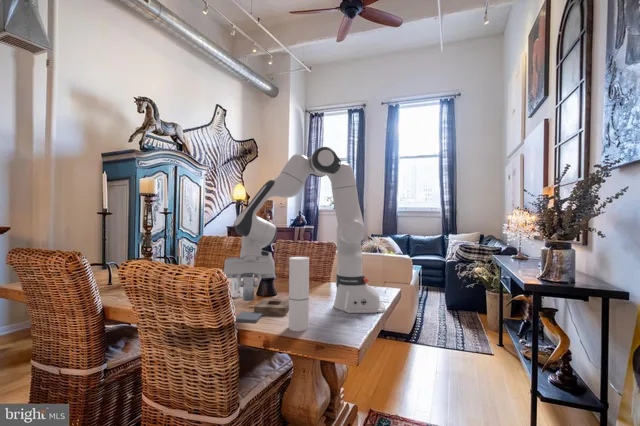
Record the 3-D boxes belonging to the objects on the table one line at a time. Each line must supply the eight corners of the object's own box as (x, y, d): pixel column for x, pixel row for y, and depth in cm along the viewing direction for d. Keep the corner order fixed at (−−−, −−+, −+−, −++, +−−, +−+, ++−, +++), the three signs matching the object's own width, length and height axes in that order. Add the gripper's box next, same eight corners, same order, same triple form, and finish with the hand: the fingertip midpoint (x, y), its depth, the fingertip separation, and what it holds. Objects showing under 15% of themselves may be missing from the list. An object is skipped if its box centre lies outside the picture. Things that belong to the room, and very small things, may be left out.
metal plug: (255, 298, 123) (256, 273, 123) (252, 301, 119) (252, 275, 119) (244, 297, 124) (245, 272, 124) (241, 300, 119) (241, 274, 119)
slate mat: (263, 314, 125) (263, 312, 125) (256, 322, 116) (256, 319, 116) (241, 313, 126) (241, 311, 126) (233, 321, 117) (233, 318, 117)
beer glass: (227, 297, 151) (227, 266, 151) (236, 293, 158) (236, 264, 158) (239, 298, 149) (240, 267, 149) (247, 295, 155) (248, 265, 155)
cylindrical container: (309, 324, 115) (310, 256, 115) (307, 331, 108) (307, 259, 108) (290, 323, 116) (291, 256, 116) (286, 330, 108) (287, 259, 109)
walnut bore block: (291, 306, 138) (291, 299, 138) (285, 315, 125) (285, 308, 125) (263, 304, 139) (263, 298, 139) (254, 314, 126) (254, 306, 126)
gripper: (224, 252, 127) (220, 282, 117) (275, 252, 130) (275, 281, 120) (225, 262, 131) (221, 290, 121) (274, 261, 134) (274, 289, 125)
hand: (248, 286), depth 121 cm, fingers closed on metal plug, 4 cm apart
